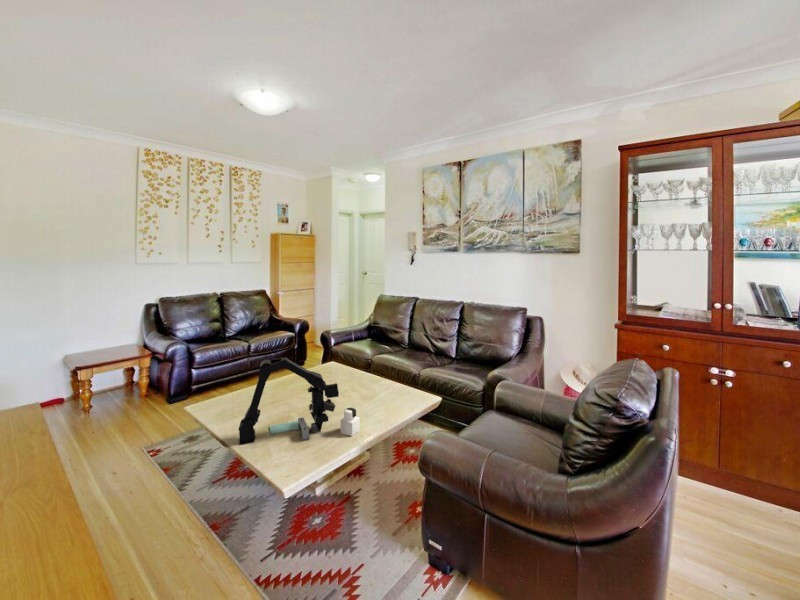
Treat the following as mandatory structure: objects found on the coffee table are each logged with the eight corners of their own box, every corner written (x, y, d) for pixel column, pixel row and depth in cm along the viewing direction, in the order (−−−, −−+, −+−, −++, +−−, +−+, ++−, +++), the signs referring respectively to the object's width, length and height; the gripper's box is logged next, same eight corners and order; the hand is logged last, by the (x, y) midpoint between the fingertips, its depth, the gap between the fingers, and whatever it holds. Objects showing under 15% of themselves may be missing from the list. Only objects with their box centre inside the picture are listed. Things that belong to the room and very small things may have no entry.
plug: (304, 435, 181) (304, 428, 181) (303, 431, 185) (303, 424, 184) (322, 431, 185) (322, 424, 184) (320, 428, 188) (320, 421, 188)
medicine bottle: (348, 427, 189) (348, 405, 188) (360, 430, 186) (359, 408, 184) (340, 433, 183) (339, 410, 181) (352, 436, 180) (351, 413, 178)
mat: (270, 434, 182) (270, 433, 182) (269, 426, 190) (269, 425, 190) (299, 429, 187) (299, 428, 187) (296, 421, 195) (296, 420, 195)
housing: (302, 440, 176) (302, 430, 175) (298, 427, 189) (297, 417, 188) (309, 439, 177) (308, 429, 176) (303, 426, 190) (303, 416, 189)
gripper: (338, 403, 179) (339, 433, 181) (329, 390, 195) (330, 417, 197) (315, 407, 174) (316, 438, 176) (308, 393, 191) (309, 421, 193)
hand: (318, 428), depth 186 cm, fingers closed on plug, 4 cm apart
